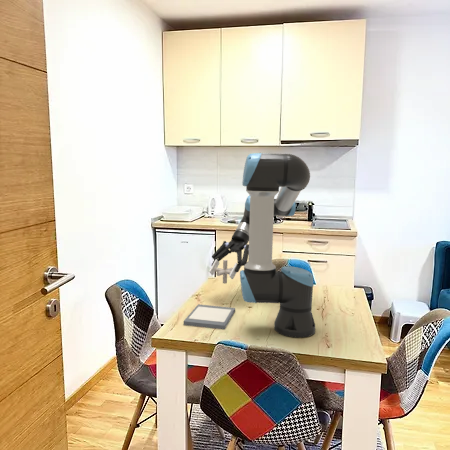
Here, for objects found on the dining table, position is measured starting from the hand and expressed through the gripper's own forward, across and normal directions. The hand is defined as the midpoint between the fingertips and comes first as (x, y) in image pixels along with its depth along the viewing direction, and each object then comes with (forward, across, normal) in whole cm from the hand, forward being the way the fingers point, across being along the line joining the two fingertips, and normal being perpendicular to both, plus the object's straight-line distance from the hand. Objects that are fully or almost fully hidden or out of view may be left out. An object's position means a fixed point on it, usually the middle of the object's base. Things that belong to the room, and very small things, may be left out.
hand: (220, 275), depth 183 cm
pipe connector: (+1, 0, -5) cm, 5 cm away
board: (+20, -6, +1) cm, 21 cm away
